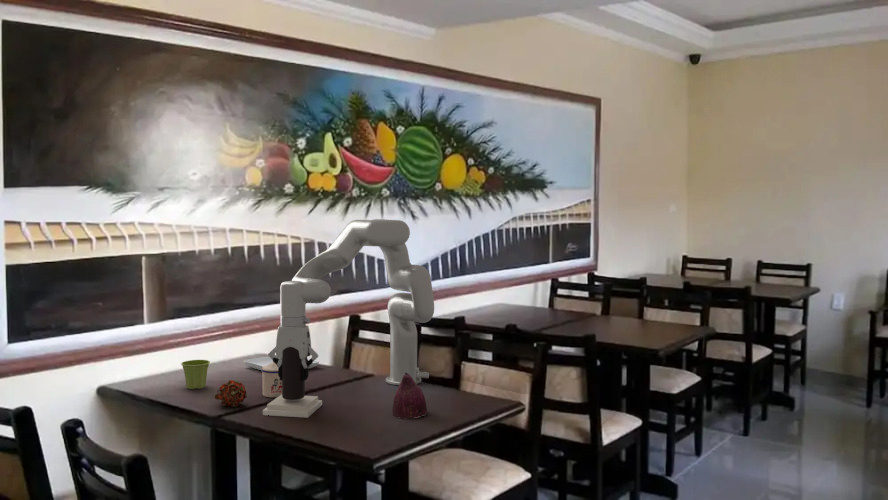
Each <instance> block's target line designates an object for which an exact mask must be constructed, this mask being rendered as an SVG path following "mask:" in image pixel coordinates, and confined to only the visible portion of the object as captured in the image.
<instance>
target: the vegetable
mask: <svg viewBox="0 0 888 500" xmlns="http://www.w3.org/2000/svg"><path fill="white" fill-rule="evenodd" d="M397 387H398V388H397V389H396V392H395V394H394V397H393V401H392V402H393V403H392V411H391V413H392V416H393V417H396V418H398V417H400V418H399V419H401V418H414V417H418V416H422V415H425V414H426V415H427V414H428V409H427V407H428V406H427V401H426V397H425V395H424V393H423V390H422V389H421V387H420V386H419V385H418V384H416V383H415V381H414V380H413V378H412V377H411V375H410V374H408V373H406V372H405V374H404V376H403V378H402V381H401V383H400V384H399V385H398V386H397Z"/></svg>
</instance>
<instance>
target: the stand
mask: <svg viewBox="0 0 888 500" xmlns="http://www.w3.org/2000/svg"><path fill="white" fill-rule="evenodd" d="M321 406H323V400H322V399H321V400H320V399H319V396H318V395H316V396H315V395H305V396H304V398H302V399H297V400H287V399H284V398H283V397H282V395H280V396H279V397H276V398H274V399H273V400H271V401H270V402H268V403H267V404H266V407H265V408H264V409H262V416H268V415H269V416H271V417H272V416H273V417H292V418H294V417H295V418H307V419H308V418H309V417H310V416H312V415H313V414H314V413H315V412H317V410H318V409H320V408H321Z"/></svg>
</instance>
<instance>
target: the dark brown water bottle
mask: <svg viewBox="0 0 888 500" xmlns="http://www.w3.org/2000/svg"><path fill="white" fill-rule="evenodd" d="M290 341H291V340H290ZM302 368H303V365H302V359H300V356H299V351H298V350H297V349H295V348H293V347H287V348H285V349H284V350H283V353H282V397H283V398H284V399H287V400H297V399H302V398H304V396H306V388H305V387H306V383H305V382H306V380H305V381H302Z"/></svg>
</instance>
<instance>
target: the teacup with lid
mask: <svg viewBox="0 0 888 500" xmlns="http://www.w3.org/2000/svg"><path fill="white" fill-rule="evenodd" d="M261 372H262V375H261V376H262V395H263V397H267V398H274V399H276V398H277V397H279V396H280V395H282V380H280V377H279V376H278V367H277V365H276V364H275V363H274V362H272V363H270V364H268V365H266V366H264V367H263V368H262V371H261Z"/></svg>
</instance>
